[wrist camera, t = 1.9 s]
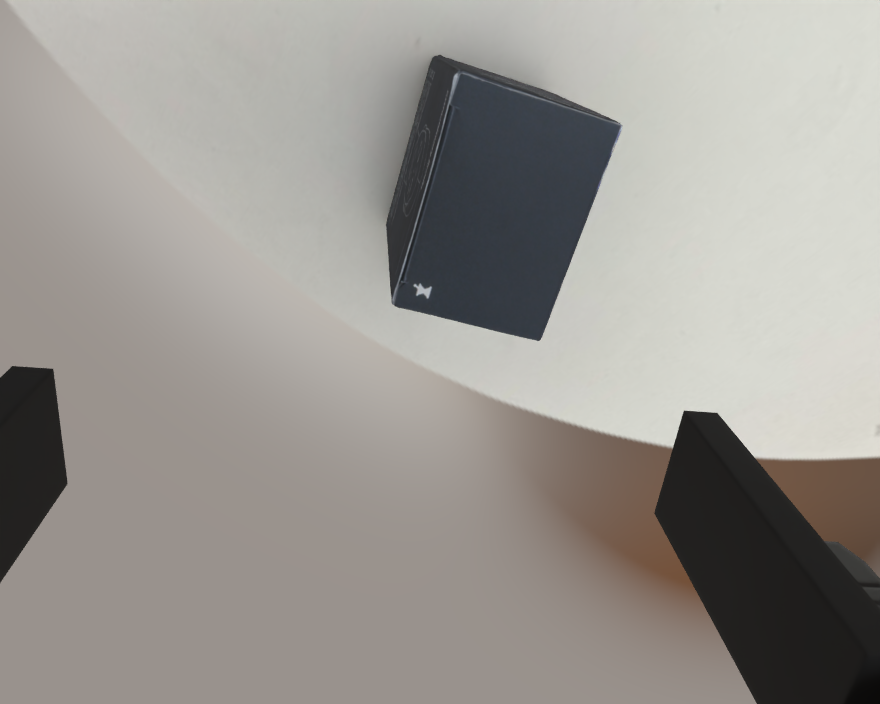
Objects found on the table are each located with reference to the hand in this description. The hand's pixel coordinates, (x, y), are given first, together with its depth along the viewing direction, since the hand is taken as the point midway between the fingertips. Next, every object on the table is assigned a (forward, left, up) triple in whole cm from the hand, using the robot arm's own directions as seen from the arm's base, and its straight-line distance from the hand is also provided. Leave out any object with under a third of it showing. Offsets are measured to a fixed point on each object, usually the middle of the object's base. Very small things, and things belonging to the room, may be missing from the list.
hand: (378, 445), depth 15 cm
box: (+1, +4, -20) cm, 21 cm away
